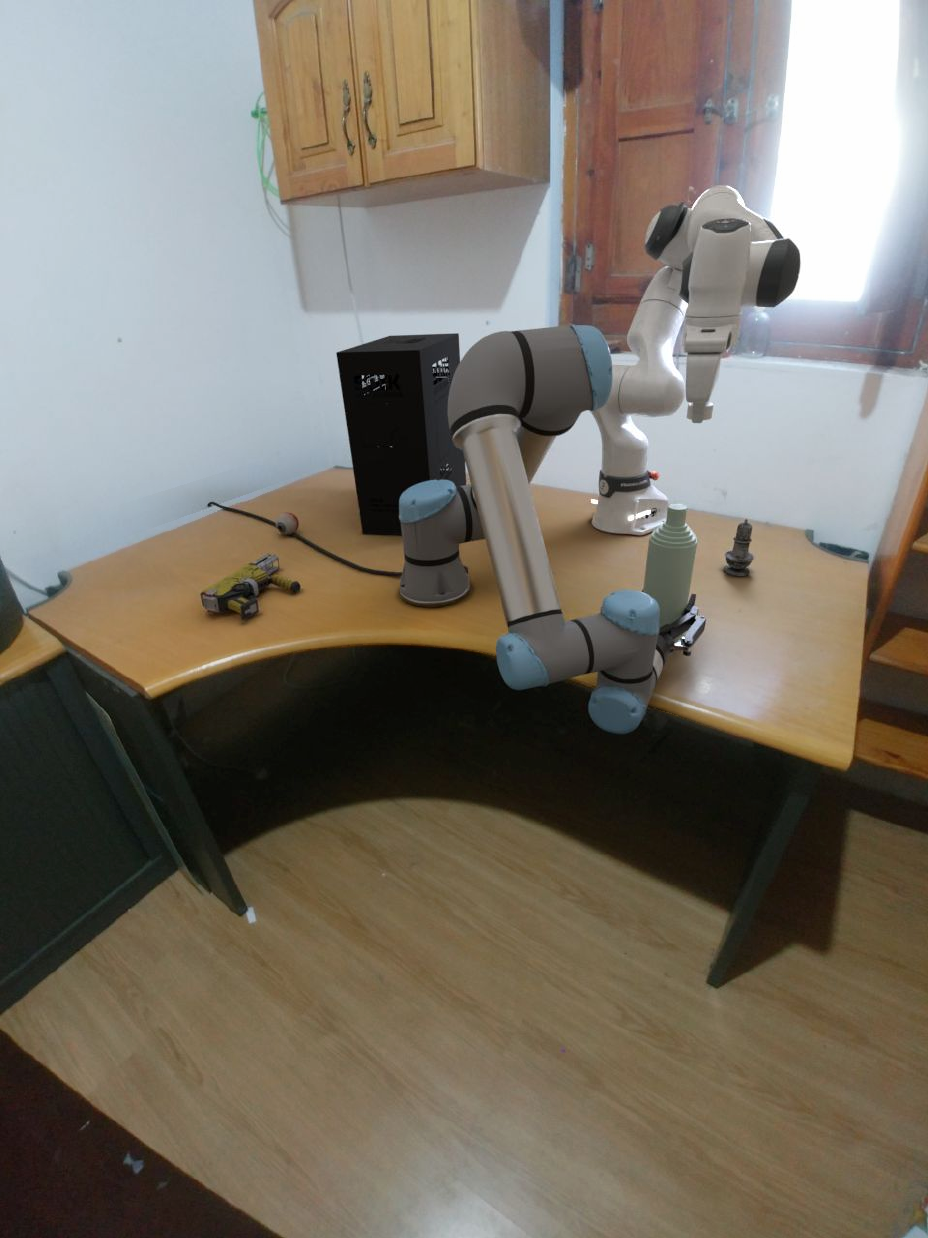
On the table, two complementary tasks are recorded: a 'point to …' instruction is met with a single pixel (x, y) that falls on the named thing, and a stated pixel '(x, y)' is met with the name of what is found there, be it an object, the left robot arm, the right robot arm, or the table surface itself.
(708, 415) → the cap
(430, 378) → the cardboard box
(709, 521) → the table surface
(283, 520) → the eyeball
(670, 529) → the bottle
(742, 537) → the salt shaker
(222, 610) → the toy gun
